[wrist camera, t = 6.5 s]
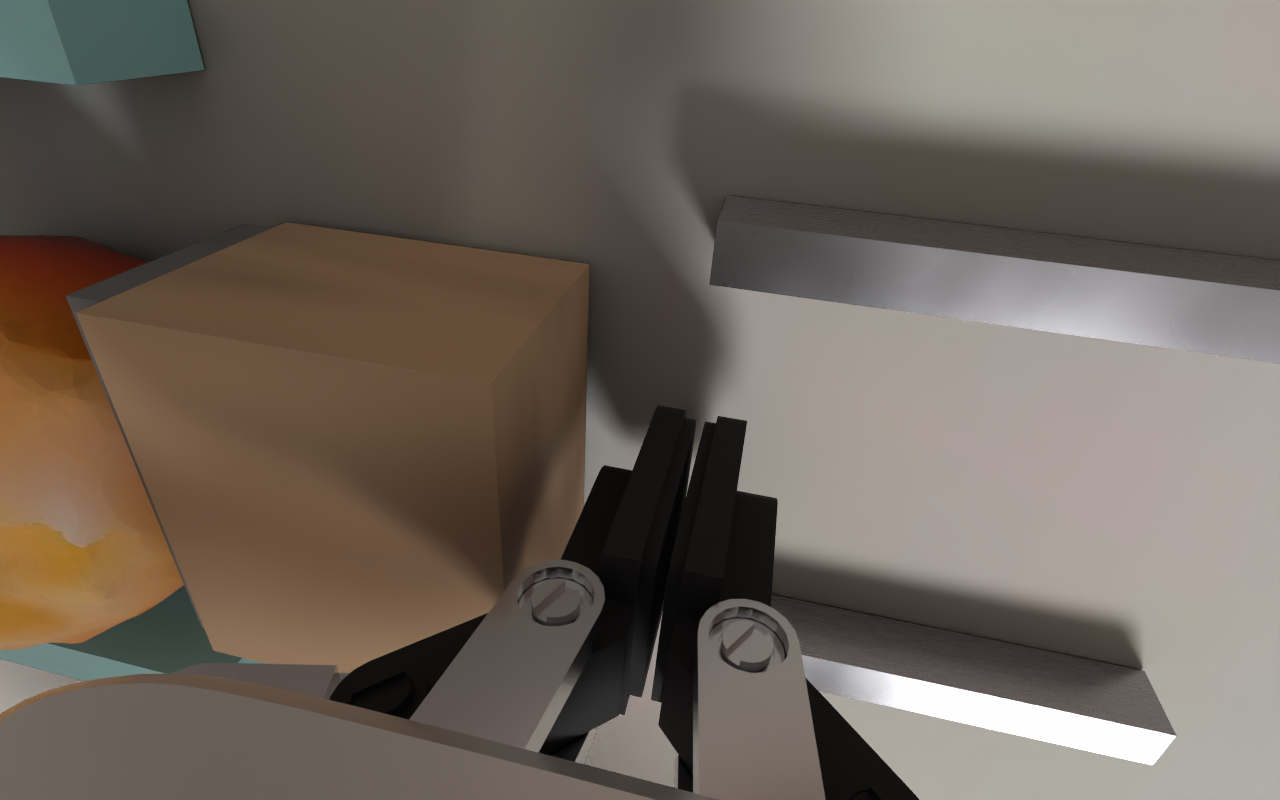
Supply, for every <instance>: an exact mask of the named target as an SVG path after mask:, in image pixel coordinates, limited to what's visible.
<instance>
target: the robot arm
mask: <svg viewBox="0 0 1280 800" xmlns="http://www.w3.org/2000/svg"><path fill="white" fill-rule="evenodd" d="M746 425H747V421H744V420H738V419H732V418H727V417H721V416H718V418H717V422H716V423H710V422H705V424H704V428H703V432H702V436H701V440H700V444H699V448H698V452H697V456H696V460H695V464H694V468H693V472H692V476H691V480H690V484H689V488H688V492H687V485H688V478H689V471H690V464H691V457H692V450H693V443H694V435H695V428H696V420H693V419H688V418H686V410H681V409H676V408H670V407H664V406H659V405H658V406H657V407H656V410H655V412H654V415H653V418H652V420H651V423H650V426H649V428H648V431H647V434H646V436H645V439H644V441H643V444H642V447H641V449H640V452H639V455H638V457H637V460H636V463H635V465H634V468H633V471H631V470H626V469H621V468H615V467H610V466H605V465H604V466H603V467H602V468H601V470H600V472H599V474H598V476H597V479H596V481H595V483H594V485H593V488H592V490H591V492H590V494H589V496H588V499H587V501H586V503H585V505H584V508H583V510H582V512H581V514H580V517H579V519H578V521H577V523H576V526H575V528H574V530H573V532H572V535H571V537H570V539H569V541H568V544H567V546H566V548H565V550H564V553H563V555H562V557H561V559H560V560H547V561H543V562H540V563H536V564H533V565H531V566H530V567H528V568H526V569H524V570H522V571H521V572H520V573H519V574H518V575H517V576H516V577H515V578H514V579H513V580H512V582H511V583H510V584H509V586H508V587H507V588H506V590H505V591H504V592H503V594H502V595H501V596H500V598H499V599H498V600H497V602H496V603H495V605H494V606H493V607H492V609H491V610H490V611H489V613H486V614H484V615H481V616H479V617H477V618H474V619H472V620H469V621H467V622H464V623H462V624H459V625H457V626H454V627H452V628H450V629H447V630H445V631H442V632H440V633H437V634H435V635H432V636H430V637H427V638H425V639H422V640H420V641H418V642H415V643H413V644H410V645H408V646H405V647H403V648H400V649H398V650H395V651H393V652H391V653H388V654H386V655H383V656H381V657H378V658H376V659H373V660H371V661H369V662H367V663H365V664H363V665H361V666H360V667H358V668H356V669H354V670H353V671H352V672H351V673H339V671H338V667H337V665H302V664H256V663H204V664H196V665H191V666H189V667H186V668H184V669H181V670H178V671H176V672H173V673H172V674H136V675H127V676H118V677H109V678H101V679H95V680H90V681H85V682H80V683H75V684H71V685H67V686H64V687H60V688H56V689H52V690H49V691H46V692H44V693H41V694H39V695H36V696H34V697H31V698H29V699H26V700H24V701H22V702H21V703H19V704H17V705H15V706H13V707H12V708H10V709H8V710H6V711H4V712H3V713H1V714H0V800H919V799H918V798H917V796H916V795H915V794H914V793H913V792H912V791H911V790H910V789H909V788H908V787H907V786H906V784H905V783H904V782H903V781H902V780H901V779H900V778H899V777H898V776H897V775H896V774H895V773H894V772H893V771H892V769H891V768H890V767H889V766H888V765H887V764H886V763H885V762H884V761H883V760H882V759H881V758H880V757H879V756H878V754H877V753H876V752H875V751H874V750H873V749H872V748H871V747H870V746H869V745H868V744H867V743H866V742H865V741H864V739H863V738H862V737H861V736H860V735H859V734H858V733H857V732H856V731H855V730H854V729H853V728H852V727H851V726H850V724H849V723H848V722H847V721H846V720H845V719H844V718H843V717H842V716H841V715H840V714H839V713H838V712H837V711H836V709H835V708H834V707H833V706H832V705H831V704H830V703H829V702H828V701H827V700H826V699H825V698H824V697H823V696H822V694H821V693H820V692H819V691H818V690H817V689H816V688H815V687H814V686H813V685H812V684H811V683H810V682H809V681H808V679H807V678H806V677H805V672H804V666H803V660H802V654H801V648H800V643H799V640H798V637H797V634H796V631H795V629H794V628H793V627H792V625H791V624H790V623H789V621H788V620H787V619H786V618H785V617H784V616H783V615H781V614H780V613H779V612H778V611H776V610H775V609H774V608H772V607H771V594H772V579H773V564H774V549H775V534H776V518H777V498H771V497H766V496H761V495H756V494H751V493H745V492H740V491H737V485H738V478H739V471H740V465H741V458H742V451H743V445H744V438H745V432H746ZM686 493H687V496H686ZM662 611H663V614H662ZM661 615H662V621H661V629H660V637H659V644H658V652H657V659H656V667H655V675H654V682H653V690H652V698H651V700H654V701H658V702H662V704H661V711H660V718H659V727H660V728H661V729H662V731H663V732H664V734H665V735H666V737H667V738H668V740H669V741H670V743H671V744H672V745H673V747H674V748H675V750H676V751H677V754H676V760H675V778H674V788H673V787H669V786H665V785H661V784H657V783H653V782H650V781H646V780H642V779H638V778H634V777H630V776H627V775H623V774H619V773H615V772H611V771H607V770H603V769H600V768H596V767H592V766H588V765H584V764H583V763H584V761H585V758H586V756H587V754H588V752H589V750H590V748H591V746H592V744H593V741H594V737H595V734H596V729H597V727H598V726H600V725H602V724H603V723H605V722H607V721H609V720H611V719H613V718H615V717H616V716H618V715H619V714H622V715H624V714H625V711H626V707H627V703H628V699H629V695H633V696H637V697H642V694H643V690H644V686H645V682H646V678H647V673H648V669H649V665H650V661H651V657H652V653H653V649H654V644H655V640H656V636H657V632H658V628H659V624H660V620H661Z"/></svg>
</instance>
